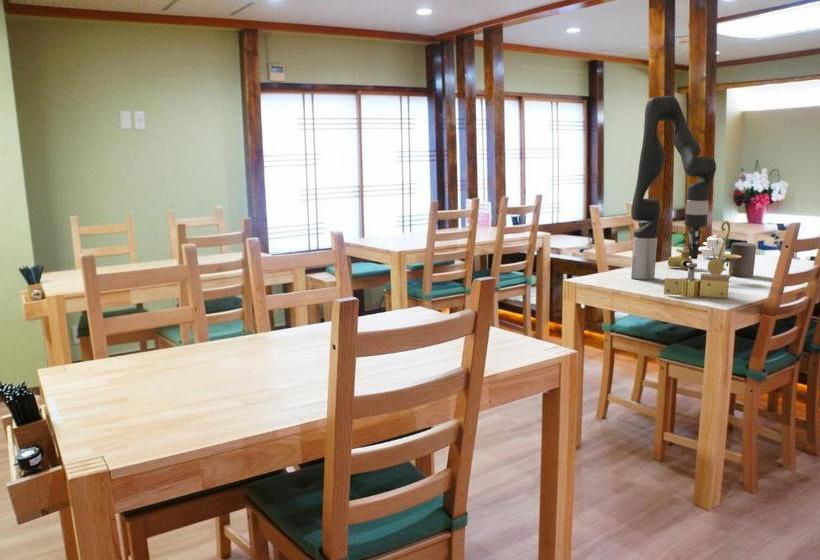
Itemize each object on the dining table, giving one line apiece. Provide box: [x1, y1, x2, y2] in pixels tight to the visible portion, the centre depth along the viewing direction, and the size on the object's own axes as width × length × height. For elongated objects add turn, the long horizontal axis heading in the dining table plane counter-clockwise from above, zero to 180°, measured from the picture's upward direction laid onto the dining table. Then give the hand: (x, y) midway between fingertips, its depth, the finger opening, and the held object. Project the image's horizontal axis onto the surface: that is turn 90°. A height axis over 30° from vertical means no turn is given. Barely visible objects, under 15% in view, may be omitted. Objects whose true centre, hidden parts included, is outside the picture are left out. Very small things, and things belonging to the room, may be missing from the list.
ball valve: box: [667, 246, 694, 270], centre depth 306 cm, size 13×10×10 cm
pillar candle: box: [727, 240, 757, 278], centre depth 286 cm, size 10×10×15 cm
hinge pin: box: [686, 262, 698, 281], centre depth 247 cm, size 4×4×12 cm
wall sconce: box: [707, 220, 741, 279], centre depth 271 cm, size 14×10×25 cm
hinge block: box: [663, 273, 730, 300], centre depth 247 cm, size 22×7×8 cm, turn 72°
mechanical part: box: [698, 234, 726, 260], centre depth 331 cm, size 11×12×12 cm
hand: (692, 257), depth 246 cm, fingers open, 8 cm apart
